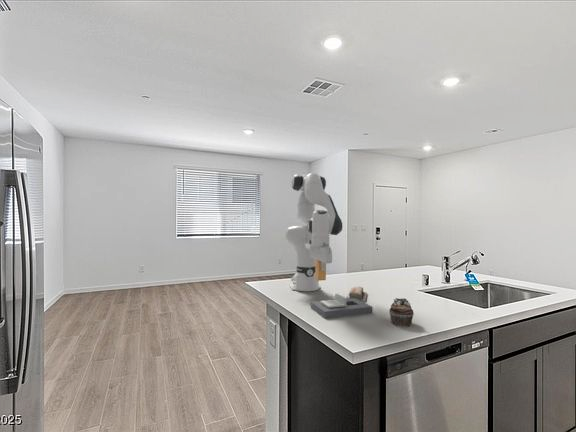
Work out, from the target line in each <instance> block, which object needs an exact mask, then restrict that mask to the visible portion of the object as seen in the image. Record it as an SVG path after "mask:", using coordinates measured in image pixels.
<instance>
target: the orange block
mask: <svg viewBox="0 0 576 432" xmlns="http://www.w3.org/2000/svg"><path fill="white" fill-rule="evenodd" d="M321 265H322V264H321V261H319V260H316V259H315V279H317V280H318V281H326V280H327V265H326V266H325V270H324V271H322V270H321Z"/></svg>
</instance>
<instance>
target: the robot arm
mask: <svg viewBox="0 0 576 432" xmlns="http://www.w3.org/2000/svg"><path fill="white" fill-rule="evenodd" d="M290 185H291V188H292V189H293V190H294V191H297V192H299V191H300V192H299V193H298V197H297V202H296V203H297V205H296V207H297V212H296V213H297V216H296V217H297V219H299V220H300V222H302V223H304V224H306V225H293V226H288V228H286V231H285V239H286V241H287V242H288V243H289V244H291V245H292V246H293V247H294V250H295V252H296V257H297V258H296V259H297V260H296V261H297V266H296V270H295V271H296V272H295V274H294V275H293V276H292V277H291V278H290V281H291V282H290V283H289V284H288V285H289V287H290V289H291V291H299V292H315V291H318V290H319V289H321V288H322V287H321V285H320V284H319V283H320V282H319V281H318V280H317V279H315V259H316V260H319V261H321V264H322V265H321V270H322V271H324V270H325V266H326V267H327V264H332V262H333V251H332V248H331V246H330V236H331V235H332V236H337V235H338V234H340V233H341V232H342V231H343V221H342V219H341V217H340V216H339V213H338V211H337V208H336V206H335V203H334V201H333V199H332V196H331V195H330V194H328V193H327V192H326V191H325V190H326V187H327V179H326V177H323V176H321V175H319V174H318V173H316V172H310V173H309V174H301V173H298V174H294V175H293V176H292V179H291V182H290ZM315 205H316V206H321V207H323V208H324V209H326V210H324V209H323V210H322V209H317V210H315V209H316V208H315ZM306 244H307V245H309V248H308V247H307V246H306Z"/></svg>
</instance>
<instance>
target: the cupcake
mask: <svg viewBox="0 0 576 432" xmlns="http://www.w3.org/2000/svg"><path fill="white" fill-rule="evenodd" d="M388 312H389V317H390V323H392V325H394V326H397V327H402V328H404V327H405V328H407V327H411V325H412V323H413V317H414V316H415V315H414V314H415V313H414V310H413V308H412V305H411V303H410V302H409V300H407V298H397V297H396V298H394V299H393V302H392V303H391V304H390V308H389V311H388Z"/></svg>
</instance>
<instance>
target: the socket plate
mask: <svg viewBox="0 0 576 432" xmlns="http://www.w3.org/2000/svg"><path fill="white" fill-rule="evenodd" d="M321 301H322V300H317V301H316V300H315V301H310V308H311V310H313V311H314V312H315V313H317V314H318V315H319V316H321V317H322V318H324V319H332V318H340V317H349V316H350V317H352V316H359V315H368V314H373V306H372V305H369V304H368V303H366V302H362V301H360V300H358V299H356V298H347V297H346V306H343V307H333V308H328V307H326V306H325V305H323V304H322V303H321Z"/></svg>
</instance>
